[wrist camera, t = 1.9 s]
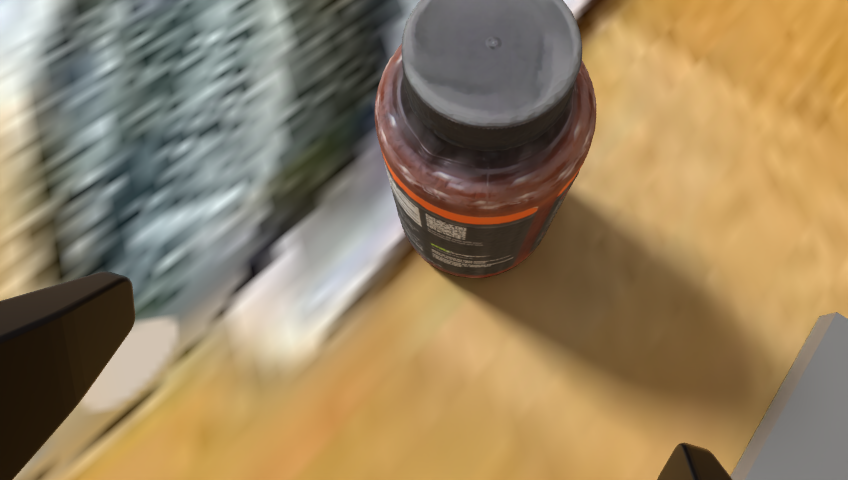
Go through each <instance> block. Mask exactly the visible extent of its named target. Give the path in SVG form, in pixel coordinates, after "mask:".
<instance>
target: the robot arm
mask: <svg viewBox="0 0 848 480" xmlns="http://www.w3.org/2000/svg"><path fill="white" fill-rule="evenodd" d="M134 321H135V308H134V298H133V287H132V283H131V281H130V279H129V278H127V277H125V276H122V275H119V274H115V273H112V272H107V271H104V272H99V273H96V274H93V275H89V276H86V277H82V278H79V279H75V280H72V281H68V282H65V283H61V284H58V285H54V286H51V287H47V288H44V289H40V290H37V291H34V292H30V293H27V294H23V295H20V296H16V297H13V298H9V299H6V300H2V301H0V480H13V479H14V478H15V476H16V475H17V474H18V473H19V472H20V471H21V469H22V468H23V467H24V466H25V465H26V464H27V463H28V461H29V460H30V459H31V458H32V457H33V456H34V455H35V453H36V452H37V451H38V450H39V449H40V448H41V447H42V445H43V444H44V443H45V442H46V441H47V440H48V439H49V437H50V436H51V435H52V434H53V433H54V432H55V431H56V429H57V428H58V427H59V426H60V425H61V424H62V423H63V421H64V420H65V419H66V418H67V417H68V416H69V414H70V413H71V412H72V411H73V410H74V408H75V407H76V406H77V405H78V403H79V402H80V401H81V399H82V398H83V397H84V396H85V394H86V393H87V391H88V390H89V389H90V387H91V386H92V384H93V383H94V382H95V380H96V379H97V377H98V376H99V375H100V373H101V372H102V370H103V369H104V367H105V366H106V365H107V363H108V362H109V360H110V359H111V358H112V356H113V355H114V353H115V352H116V351H117V349H118V348H119V346H120V345H121V344H122V342H123V341H124V339H125V338H126V337H127V335H128V334H129V332H130V331H131V329H132V327H133V324H134ZM657 480H732V478H731V477H730V476H729V474H728V473H727V472H726V471H725V469H724V468H723V467H722V465H721V464H720V463H719V461H718V460H717V459H716V458H715V456H714V455H713V454H712V453H711V452H710V451H709V450H707V449H704V448H701V447H698V446H694V445H691V444H688V443H680V444H679V445H677V447H676V448H675V449H674V451H673V453H672V454H671V456H670V458H669V459H668V461H667V463H666V465H665V466H664V468H663V470H662V471H661V473H660V475H659V477H658V479H657Z"/></svg>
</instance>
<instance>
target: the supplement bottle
mask: <svg viewBox="0 0 848 480" xmlns="http://www.w3.org/2000/svg"><path fill="white" fill-rule="evenodd" d="M375 124H376V131H377V136H378V140H379V143H380V147H381V151H382V156H383V159H384V163H385V166H386V170H387V173H388V177H389V181H390V185H391V189H392V192H393V196H394V200H395V203H396V207H397V211H398V216H399V218H400V221H401V224H402V227H403V229H404V232H405V235H406V236H407V238H408V240H409V242H410V243H411V245H412V246H413V248H414V249H415V250H416V251H417V253H418V254H419V255H420V256H421V257H422V258H423V259H424V260H425V261H427V262H428V263H430V264H432V265H433V266H434V267H436V268H438V269H440V270H442V271H444V272H447V273H450V274H453V275H456V276H462V277H468V278H483V277H489V276H493V275H497V274H500V273H502V272H505V271H507V270H509V269H511V268H513V267H515V266H516V265H518V264H519V263H521V262H522V261H523V260H524V259H526V258H527V257H528V256H529V255H530V254H531V253H532V252H533V251H534V249H535V248H536V247H537V246H538V245H539V243H540V241H541V240H542V238H543V237H544V235H545V233H546V231H547V229H548V227H549V226H550V223H551V222H552V220H553V218H554V216H555V214H556V213H557V211H558V209H559V207H560V205H561V204H562V202H563V200H564V198H565V196H566V194H567V192H568V191H569V189H570V187H571V185H572V184H573V182H574V180H575V178H576V177H577V175H578V173H579V170H580V168H581V166H582V165H583V163H584V161H585V158H586V156H587V154H588V151H589V148H590V146H591V142H592V138H593V135H594V131H595V124H596V98H595V94H594V88H593V85H592V81H591V79H590V77H589V73H588V71H587V69H586V67H585V65H584V63H583V61H582V42H581V35H580V30H579V28H578V25H577V21H576V20H575V18H574V16H573V14H572V12H571V10H570V9H569V8H568V7H567V5H566V4H565V2H564V1H563V0H421V1H420V2H419V3H418V4H417V6H416V7H415V8H414V9H413V11H412V13H411V15H410V17H409V18H408V20H407V22H406V26H405V29H404V33H403V38H402V44H401V45H400V46H399V48H398V49H397V50H396V52H395V54H394V55H393V56H392V57H391V58H390V60H389V63H388V64H387V66H386V68H385V70H384V72H383V75H382V78H381V81H380V84H379V87H378V91H377V96H376V102H375Z"/></svg>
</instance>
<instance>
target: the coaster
mask: <svg viewBox="0 0 848 480" xmlns="http://www.w3.org/2000/svg"><path fill="white" fill-rule="evenodd" d="M730 477H731V478H732V480H848V319H847V318H845V317H844V316H842V315H840V314H839V313H837V312H836V313H831V314H827V315H823V316H819V318H818V320H817V322H816V324H815V325H814V327H813V329H812V331H811V333H810V334H809V336H808V338H807V340H806V341H805V343H804V345H803V347H802V349H801V350H800V352H799V354H798V356H797V358H796V359H795V361H794V363H793V365H792V367H791V368H790V370H789V372H788V374H787V376H786V377H785V379H784V381H783V383H782V385H781V386H780V388H779V390H778V392H777V394H776V395H775V397H774V399H773V401H772V403H771V404H770V406H769V408H768V410H767V412H766V413H765V415H764V417H763V419H762V421H761V422H760V424H759V426H758V428H757V430H756V431H755V433H754V435H753V437H752V439H751V440H750V442H749V444H748V446H747V448H746V449H745V451H744V453H743V455H742V457H741V458H740V460H739V462H738V464H737V466H736V467H735V469H734V471H733V473H732V475H731V476H730Z"/></svg>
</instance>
